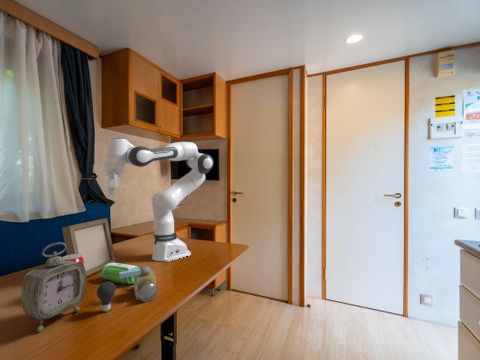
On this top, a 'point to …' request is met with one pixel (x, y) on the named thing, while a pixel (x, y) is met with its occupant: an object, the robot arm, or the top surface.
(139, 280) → the valve
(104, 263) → the photo frame
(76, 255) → the soda can
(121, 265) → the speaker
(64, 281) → the tabletop clock
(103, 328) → the top surface
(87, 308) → the top surface
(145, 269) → the lever
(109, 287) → the light bulb
